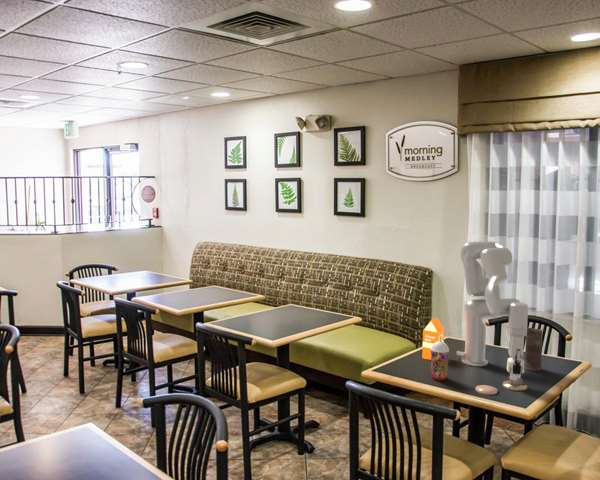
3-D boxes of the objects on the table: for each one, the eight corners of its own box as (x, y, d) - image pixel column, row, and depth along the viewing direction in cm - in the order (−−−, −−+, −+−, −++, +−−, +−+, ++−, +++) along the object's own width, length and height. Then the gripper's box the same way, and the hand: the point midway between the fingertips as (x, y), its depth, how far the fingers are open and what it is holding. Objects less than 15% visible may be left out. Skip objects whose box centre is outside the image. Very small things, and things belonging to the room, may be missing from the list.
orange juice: (422, 358, 282) (423, 319, 280) (428, 353, 290) (430, 316, 288) (436, 361, 278) (438, 321, 276) (443, 356, 285) (444, 318, 283)
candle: (520, 367, 269) (522, 327, 267) (532, 365, 272) (534, 325, 270) (533, 372, 262) (535, 331, 260) (544, 370, 265) (547, 329, 263)
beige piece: (500, 387, 243) (500, 369, 242) (505, 380, 251) (506, 363, 250) (524, 392, 237) (525, 374, 236) (529, 385, 246) (530, 367, 245)
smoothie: (438, 382, 248) (439, 339, 246) (425, 376, 255) (427, 334, 253) (452, 379, 252) (454, 336, 250) (439, 374, 259) (441, 332, 257)
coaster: (472, 391, 238) (472, 389, 238) (478, 385, 245) (478, 383, 245) (494, 396, 233) (494, 394, 233) (499, 389, 240) (499, 387, 240)
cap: (506, 367, 248) (506, 354, 247) (522, 369, 246) (523, 355, 245) (508, 373, 241) (508, 359, 240) (524, 374, 240) (525, 360, 239)
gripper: (505, 325, 251) (503, 363, 253) (511, 335, 234) (508, 376, 236) (523, 326, 249) (521, 365, 251) (530, 337, 232) (527, 378, 234)
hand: (515, 370), depth 244 cm, fingers closed on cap, 6 cm apart
